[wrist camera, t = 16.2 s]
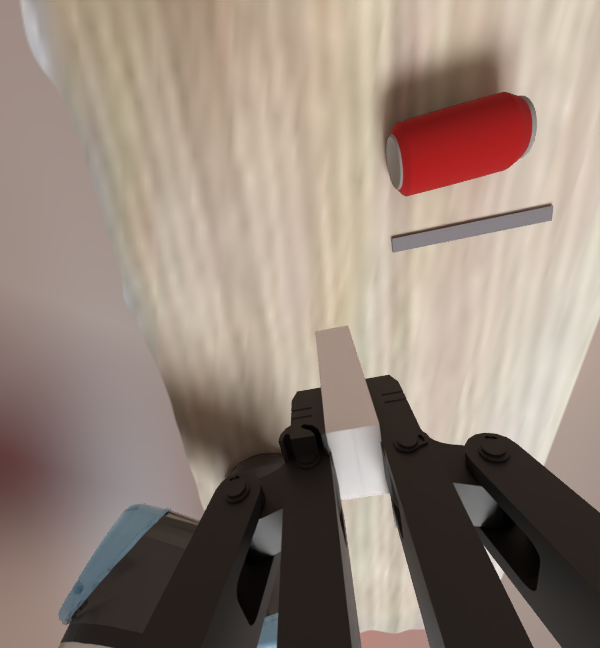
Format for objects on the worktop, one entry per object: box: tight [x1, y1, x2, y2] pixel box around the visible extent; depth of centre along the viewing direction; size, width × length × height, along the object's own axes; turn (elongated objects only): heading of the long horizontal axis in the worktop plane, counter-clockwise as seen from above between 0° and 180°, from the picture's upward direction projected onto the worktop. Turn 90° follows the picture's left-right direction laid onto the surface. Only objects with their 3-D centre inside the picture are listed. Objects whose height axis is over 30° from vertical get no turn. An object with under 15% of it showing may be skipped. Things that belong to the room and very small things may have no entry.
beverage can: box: [386, 92, 537, 196], centre depth 33 cm, size 7×7×12 cm
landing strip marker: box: [391, 206, 553, 252], centre depth 39 cm, size 18×2×1 cm, turn 102°
